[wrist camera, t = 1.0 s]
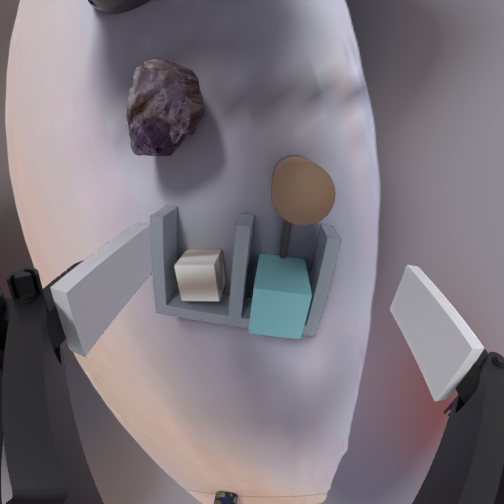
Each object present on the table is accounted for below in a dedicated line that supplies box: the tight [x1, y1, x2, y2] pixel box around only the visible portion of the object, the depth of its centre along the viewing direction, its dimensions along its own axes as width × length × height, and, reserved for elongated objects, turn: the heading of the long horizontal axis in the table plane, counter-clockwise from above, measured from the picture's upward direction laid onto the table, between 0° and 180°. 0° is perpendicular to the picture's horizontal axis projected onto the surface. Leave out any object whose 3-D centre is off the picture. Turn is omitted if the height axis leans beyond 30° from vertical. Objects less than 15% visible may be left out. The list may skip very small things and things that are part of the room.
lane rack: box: [150, 206, 341, 336], centre depth 34 cm, size 14×22×5 cm, turn 84°
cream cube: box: [174, 249, 226, 301], centre depth 35 cm, size 5×5×5 cm
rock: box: [126, 59, 205, 156], centre depth 25 cm, size 12×9×10 cm
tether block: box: [248, 155, 335, 339], centre depth 29 cm, size 19×6×12 cm, turn 174°
